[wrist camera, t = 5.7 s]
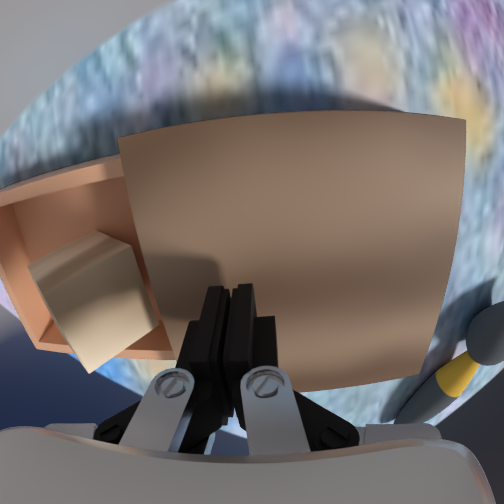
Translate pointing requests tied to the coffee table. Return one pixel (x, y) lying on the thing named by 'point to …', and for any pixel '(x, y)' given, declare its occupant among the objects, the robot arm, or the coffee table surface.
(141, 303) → the beech block
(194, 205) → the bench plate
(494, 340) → the paintbrush
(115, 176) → the tray
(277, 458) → the robot arm
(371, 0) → the coffee table surface
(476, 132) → the coffee table surface
